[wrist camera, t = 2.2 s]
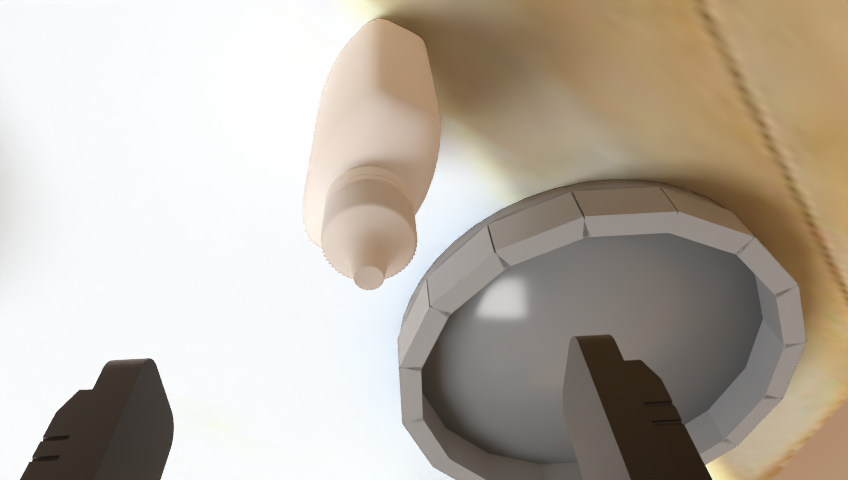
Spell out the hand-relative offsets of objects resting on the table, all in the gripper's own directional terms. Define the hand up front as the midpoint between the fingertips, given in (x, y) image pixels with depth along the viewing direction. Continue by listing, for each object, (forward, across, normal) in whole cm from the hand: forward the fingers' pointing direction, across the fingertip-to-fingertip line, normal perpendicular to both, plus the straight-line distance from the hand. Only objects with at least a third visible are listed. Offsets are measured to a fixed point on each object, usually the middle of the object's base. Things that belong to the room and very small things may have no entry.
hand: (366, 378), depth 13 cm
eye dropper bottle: (+15, 0, 0) cm, 15 cm away
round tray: (+15, -10, +14) cm, 23 cm away
